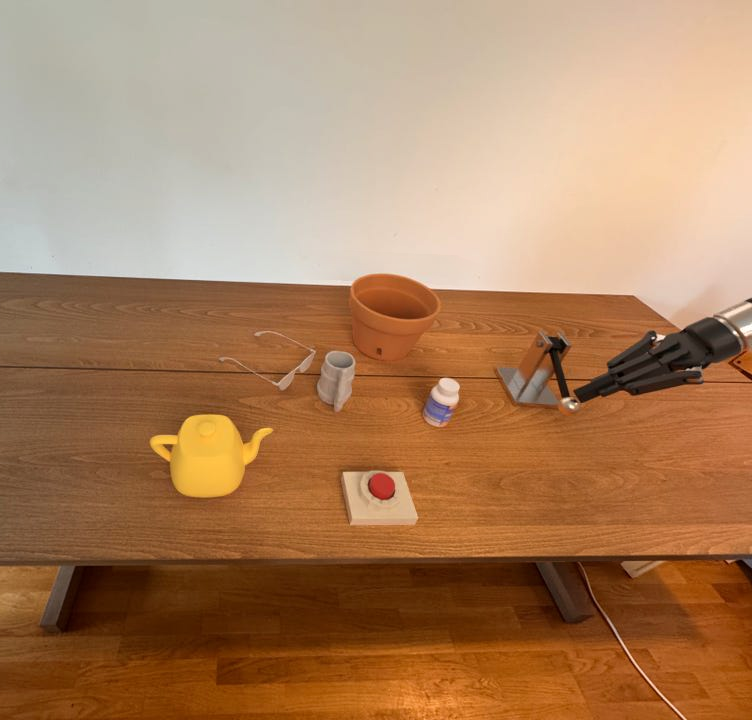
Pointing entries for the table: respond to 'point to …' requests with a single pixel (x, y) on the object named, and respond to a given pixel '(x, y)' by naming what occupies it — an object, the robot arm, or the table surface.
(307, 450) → the table surface
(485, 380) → the table surface
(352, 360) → the mug
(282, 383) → the eyeglasses
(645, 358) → the robot arm
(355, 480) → the button box
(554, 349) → the lever
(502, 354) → the table surface
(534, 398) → the bracket
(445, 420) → the pill bottle
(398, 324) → the flower pot
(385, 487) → the button
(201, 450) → the teapot
